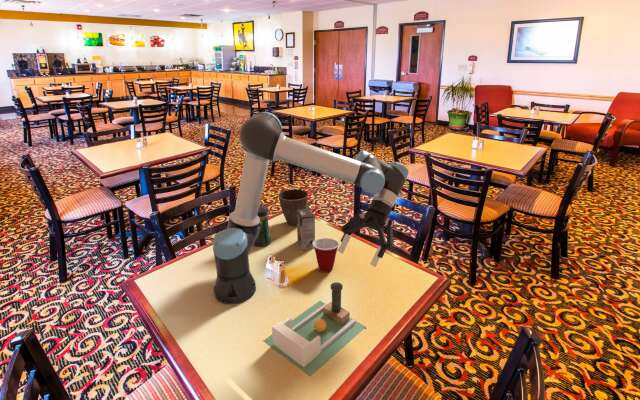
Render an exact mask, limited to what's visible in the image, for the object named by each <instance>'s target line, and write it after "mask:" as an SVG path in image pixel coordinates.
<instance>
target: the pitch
mask: <svg viewBox="0 0 640 400" xmlns="http://www.w3.org/2000/svg"><path fill="white" fill-rule="evenodd" d="M327 304H328V303H326V302H323V301H322V300H319V301H317V302H316V303H315V304H313V305H311V306H310V307H309V308H307V309H306V310H304V311H303V312H302V313H300V314H299V315H298V316H296V317H294V318H293V319H292V330H293V331H294V332H296V333H297V334H299V335H300V336H302V337H303V338H305V339H306V340H308V341H309V342H310V341H312V340H313V339H314V338H315V337H317V336H319V337H320V349H321V353H320V354H319V355H318V356H317V357H315V358H314V359H313V360H312V361H311V362H310V363H308V364H307V365H306V366H305V367H303V366H301V365H300V364H299V363H297V362H296V361H295V360H293V359H292V358H291V357H289V356H288V355H287V354H285V353H284V352H283V351H281V350H280V349H279V348H277V347H276V346H275V345H273V335H272V334H270V335H269V336H268V337H266V338H265V339H263V340H262V342H264V343H265V344H266V345H268V346H269V347H270V348H272V349H274V351H276V352H277V353H279V354H280V355H281V356H283V357H284V358H285V359H287V360H288V361H289V362H290V363H292V364H293V365H295V366H296V367H297V368H299V369H300V370H301V371H303V372H304V373H305V374H306V375H308V377H312V376H313V375H314V374H315V373H316V372H317V371H318V370H319V369H320V368H322V367H323V366H324V365H326V363H327V362H328V361H330V359H332V358H333V357H334V356H336V354H337V353H338V352H339V351H341V350H342V349H343V348H344V347H346V345H348V343H350V342H351V341H352V340H353V339H354V338H356V336H358V335H359V334H360V333H361V332H362V331H364V330H367V326H365V325H364V324H362V323H360V322H358V321H357V320H355V319H353V318H352V317H350V318H349V320H348V321H347V322H346V323H344V324H343V325H342V326H341V325H340V324H338V323H336V322H335V321H333V320H331V319H330V318H328V317H326V316H325V315H323V307H324V306H326V305H327ZM317 319H323V320H325V322H326V329H325V330H324V331H322V332H318V331H316V330H315V328H314V322H315V321H316V320H317Z"/></svg>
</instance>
